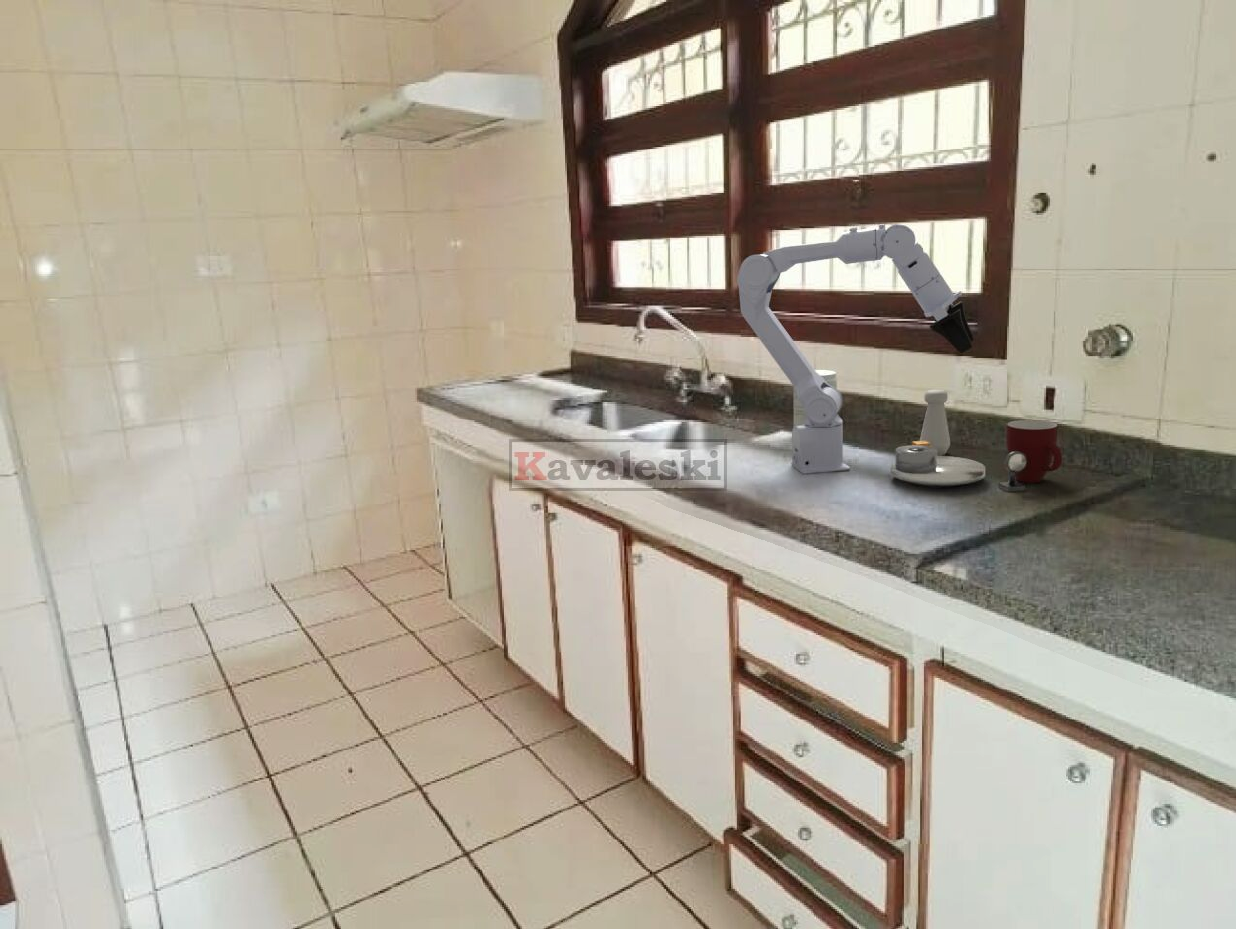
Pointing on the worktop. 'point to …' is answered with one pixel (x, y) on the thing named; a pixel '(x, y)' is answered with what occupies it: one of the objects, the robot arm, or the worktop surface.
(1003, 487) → the dial gauge
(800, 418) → the supplement tub
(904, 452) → the cover
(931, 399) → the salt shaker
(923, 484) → the turntable base
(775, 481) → the worktop surface
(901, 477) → the turntable
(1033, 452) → the mug
